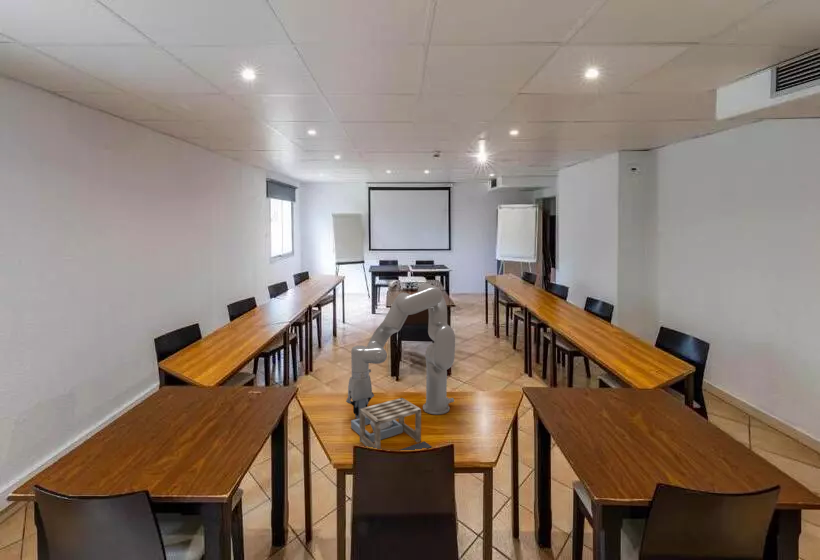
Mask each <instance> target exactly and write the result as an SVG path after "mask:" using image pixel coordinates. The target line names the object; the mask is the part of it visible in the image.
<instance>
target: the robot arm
mask: <svg viewBox="0 0 820 560" xmlns="http://www.w3.org/2000/svg"><path fill="white" fill-rule="evenodd" d="M426 310H428V325H427V326H428V327H427V333H428V336H429V338H430V339H431V340H432V341H433V342H432V343H430V344H428V345H427V347H426V349H425V354H424V355H425V356H424V357H425V365H426V369H425V370H426V381H425V382H426V383H425V384H426V385H425V386H426V389H425V390H426V391H425V392H426V393H425V394H426V395H425V398H426V399H425V403H424V404H423V405H422V411H424V412H425V413H427V414H431V415H444V414H447V413H449V412H450V406H449V404H451V403H454V402H455V399H454V397H447V391H448V389H447V386H448V384H447V383H448V382H447V379H448V371H447V370H449V369H450V368H451V367H453V364H454V363H455V353H456V352H455V351H456V336H455V335H456V334H455V331H454V329H453V327H452V326H450V325H449V324H448V306H447V302H446V299H445V297H444V296H443V291H442V290H441V289H440V288H439V287H438V286H435V285H433V284H431V283H426V282H425V283H422V284H420V285H419V286H418V289H417V292H415V293H412V294H410V293H408V292H401V293H399V294H398V295H397V296H396V297H395V298H394V300H393V302H392V304H391V306H390V308H389V310H388V311H387V314H386V315H385V317H384V319H383V321H382V322H381V323H380V324H379V326H378V327H377V328H376V329H375V330H374V332H373V334H372V335H371V337H370V339H369V341H368V343H367V345H355V346H353V347H351V351H350V352H351V354H350V355H351V376H350V377H349V380H348V387H347V398H346V401H345V402H346V403H347V404H350V405H352V406H353V409H352V410H353V414H354V416H355V415H357V416H358V415H359V409H358V407H357V405H358V400H362V399H366V407H368V405H369V403H370V401H371V400H372V399H373V397H375V394H374V392H373V386H372V380H371V376H370V373H372V369H370V367H369V365H370V364H374V365H376V364H377V365H380V364H383V363H384V362H386V360H387V358H388V353H387V351H386V349H385V348H384V347H385V345H386V344H387V342H388V340H389V339H390V337H392V335H393V334H395V333H398V332H400V330H401V329H402V327H403V325H404V324H405V322H406V321H407V318H408V316H409V315H415V314H418V313H420V312H423V311H426Z"/></svg>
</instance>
